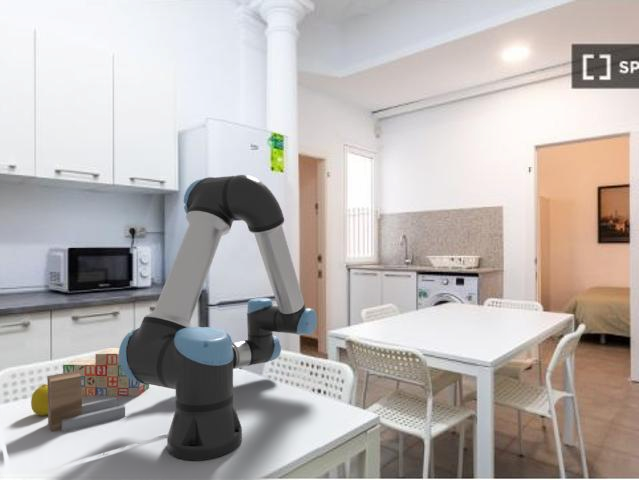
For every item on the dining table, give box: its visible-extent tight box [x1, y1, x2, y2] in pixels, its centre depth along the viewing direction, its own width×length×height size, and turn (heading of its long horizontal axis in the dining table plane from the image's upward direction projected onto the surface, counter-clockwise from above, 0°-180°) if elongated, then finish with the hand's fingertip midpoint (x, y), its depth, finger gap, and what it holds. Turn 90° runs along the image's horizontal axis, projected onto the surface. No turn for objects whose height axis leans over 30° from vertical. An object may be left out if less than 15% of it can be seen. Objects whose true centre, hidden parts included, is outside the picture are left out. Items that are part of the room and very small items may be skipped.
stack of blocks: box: [62, 347, 150, 397], centre depth 121 cm, size 21×6×12 cm, turn 87°
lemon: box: [30, 383, 48, 417], centre depth 106 cm, size 6×6×8 cm
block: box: [46, 371, 83, 432], centre depth 100 cm, size 5×6×11 cm
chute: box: [60, 396, 126, 433], centre depth 103 cm, size 9×13×3 cm
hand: (148, 373), depth 112 cm, fingers closed
